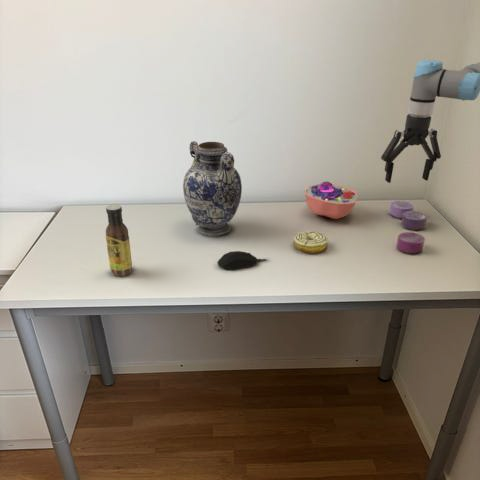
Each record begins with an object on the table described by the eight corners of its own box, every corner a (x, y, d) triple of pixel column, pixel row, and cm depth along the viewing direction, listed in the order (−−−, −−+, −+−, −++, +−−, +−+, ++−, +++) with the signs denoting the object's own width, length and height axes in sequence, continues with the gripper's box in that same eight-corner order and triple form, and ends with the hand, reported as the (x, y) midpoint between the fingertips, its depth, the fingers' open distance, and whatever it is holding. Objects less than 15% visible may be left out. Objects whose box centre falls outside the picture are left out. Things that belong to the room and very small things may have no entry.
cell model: (327, 230, 171) (330, 198, 165) (293, 210, 186) (295, 179, 179) (366, 220, 178) (371, 189, 172) (331, 202, 192) (334, 172, 186)
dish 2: (415, 242, 164) (417, 231, 161) (427, 254, 157) (429, 242, 155) (391, 244, 162) (393, 233, 160) (402, 256, 156) (405, 244, 154)
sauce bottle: (106, 272, 147) (95, 206, 136) (123, 264, 151) (114, 200, 140) (120, 279, 144) (110, 212, 133) (137, 271, 148) (129, 205, 136)
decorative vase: (172, 227, 173) (166, 142, 157) (215, 213, 183) (213, 132, 167) (212, 249, 160) (208, 158, 144) (255, 232, 170) (257, 146, 154)
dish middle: (418, 221, 178) (420, 210, 176) (429, 230, 172) (432, 219, 169) (396, 222, 177) (398, 211, 175) (407, 232, 170) (409, 221, 168)
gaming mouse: (269, 265, 151) (269, 252, 149) (220, 271, 148) (220, 259, 145) (262, 255, 156) (263, 243, 154) (215, 262, 153) (215, 249, 150)
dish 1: (405, 210, 186) (407, 199, 184) (415, 218, 180) (418, 207, 177) (385, 211, 185) (386, 200, 183) (394, 220, 178) (396, 209, 176)
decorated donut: (317, 237, 167) (318, 227, 164) (333, 251, 158) (334, 240, 156) (288, 242, 164) (288, 231, 162) (302, 256, 155) (303, 245, 153)
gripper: (449, 110, 168) (434, 174, 180) (377, 113, 164) (367, 178, 176) (461, 116, 162) (445, 182, 174) (387, 119, 158) (376, 186, 170)
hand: (406, 180), depth 175 cm, fingers open, 13 cm apart
